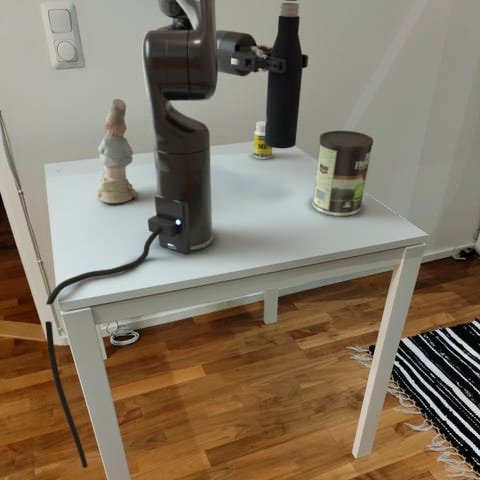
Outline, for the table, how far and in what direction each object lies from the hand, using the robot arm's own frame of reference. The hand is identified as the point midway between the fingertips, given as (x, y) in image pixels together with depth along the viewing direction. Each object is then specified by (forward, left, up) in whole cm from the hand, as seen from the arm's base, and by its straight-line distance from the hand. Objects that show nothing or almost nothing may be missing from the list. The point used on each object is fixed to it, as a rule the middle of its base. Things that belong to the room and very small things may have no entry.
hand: (295, 64), depth 87 cm
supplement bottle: (+21, +17, -26) cm, 37 cm away
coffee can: (+2, -11, -26) cm, 29 cm away
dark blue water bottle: (0, +2, -15) cm, 15 cm away
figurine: (-19, +31, -26) cm, 45 cm away
